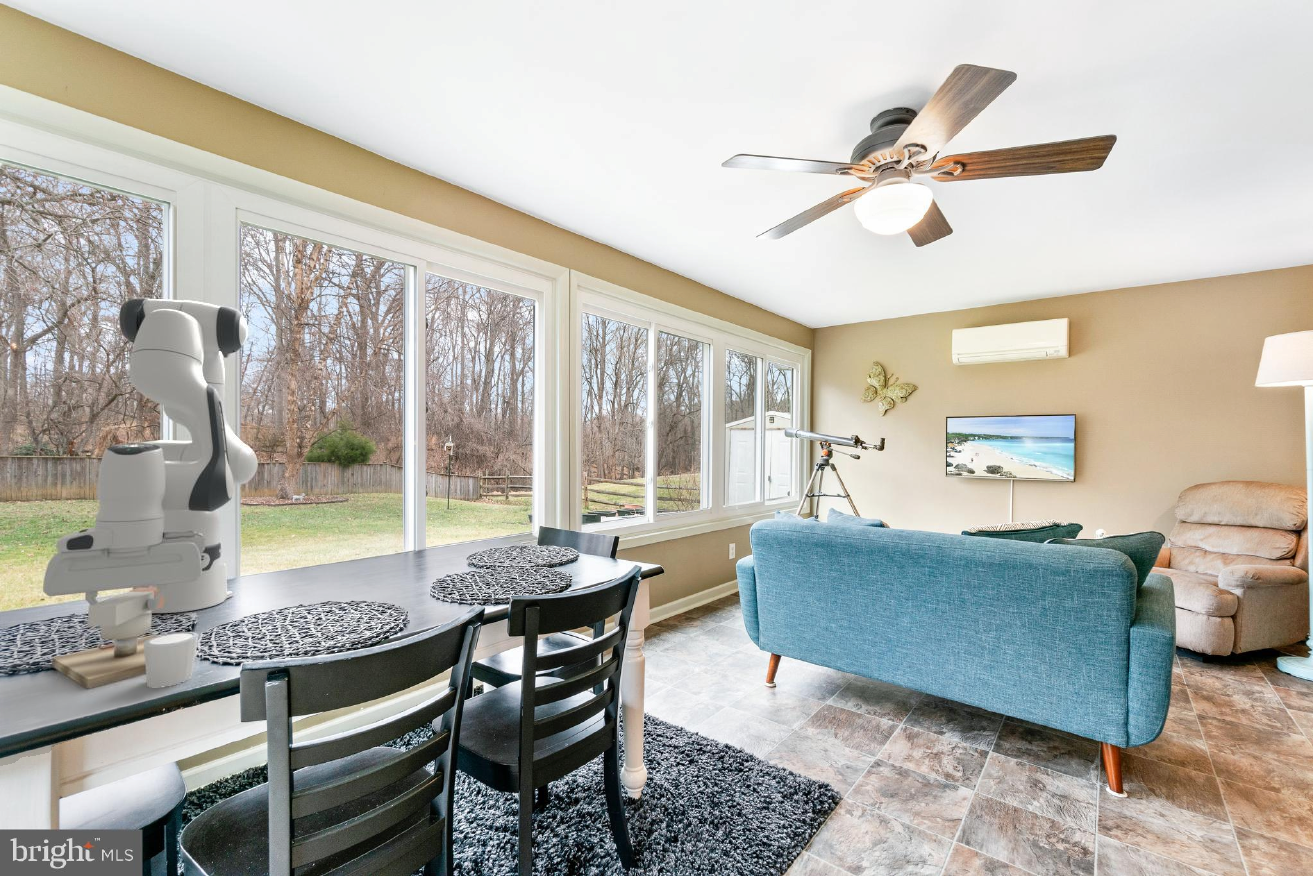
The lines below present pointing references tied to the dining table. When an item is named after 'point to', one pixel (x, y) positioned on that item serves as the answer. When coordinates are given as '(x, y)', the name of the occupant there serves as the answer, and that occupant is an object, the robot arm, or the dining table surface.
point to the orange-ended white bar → (124, 614)
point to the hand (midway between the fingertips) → (126, 612)
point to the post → (125, 647)
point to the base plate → (101, 664)
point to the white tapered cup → (170, 658)
